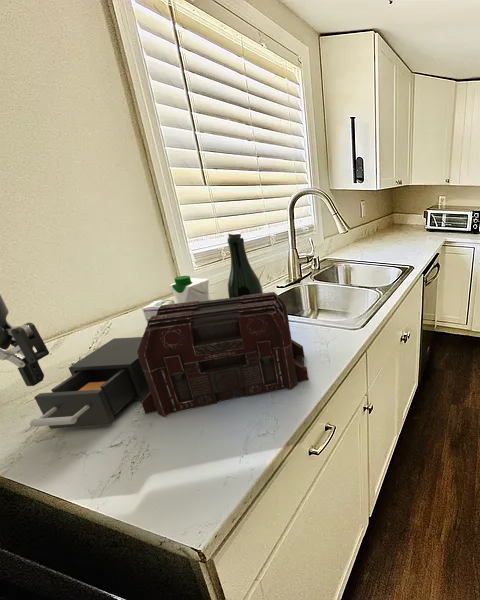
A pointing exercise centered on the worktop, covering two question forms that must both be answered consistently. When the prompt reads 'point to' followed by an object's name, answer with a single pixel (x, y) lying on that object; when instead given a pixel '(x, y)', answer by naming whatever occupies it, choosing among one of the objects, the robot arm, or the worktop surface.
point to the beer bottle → (241, 270)
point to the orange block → (92, 386)
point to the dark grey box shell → (117, 362)
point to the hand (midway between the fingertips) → (7, 385)
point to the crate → (218, 352)
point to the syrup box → (154, 308)
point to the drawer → (85, 399)
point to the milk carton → (190, 289)
